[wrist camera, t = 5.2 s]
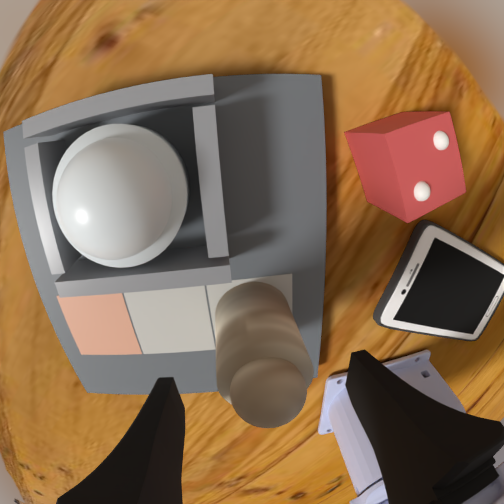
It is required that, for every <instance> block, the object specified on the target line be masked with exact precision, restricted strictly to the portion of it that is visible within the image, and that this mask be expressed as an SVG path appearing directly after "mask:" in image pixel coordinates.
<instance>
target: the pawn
mask: <svg viewBox="0 0 504 504" xmlns="http://www.w3.org/2000/svg"><path fill="white" fill-rule="evenodd" d="M215 337H216V380H217V388H218V391H219V393H220V395H221V396H222V397H223V398H224V399H225V400H226V401H228V402H229V403H231V404H232V405H233V408H234V409H235V411H236V413H237V414H238V415H239V416H240V417H241V418H242V419H243V420H244V421H246V422H247V423H249V424H251V425H253V426H257V427H261V428H275V427H279V426H282V425H284V424H287V423H288V422H290V421H291V420H293V419H294V418H295V417H296V416H297V415H298V414H299V412H300V411H301V410H302V408H303V406H304V403H305V400H306V394H307V388H308V387H309V385H310V384H311V382H312V379H313V375H314V368H313V364H312V362H311V359H310V357H309V354H308V352H307V349H306V347H305V344H304V342H303V339H302V337H301V334H300V332H299V329H298V327H297V324H296V322H295V319H294V317H293V314H292V312H291V309H290V307H289V304H288V302H287V300H286V298H285V296H284V295H283V293H282V292H281V291H280V290H278V289H277V288H275V287H274V286H272V285H270V284H266V283H262V282H247V283H243V284H240V285H237V286H235V287H233V288H231V289H230V290H228V291H227V292H226V293H225V294H224V295H223V296H222V297H221V299H220V300H219V302H218V304H217V306H216V311H215Z"/></svg>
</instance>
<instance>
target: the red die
mask: <svg viewBox="0 0 504 504" xmlns="http://www.w3.org/2000/svg"><path fill="white" fill-rule="evenodd" d="M344 133H345V136H346V138H347V141H348V144H349V147H350V149H351V152H352V155H353V158H354V161H355V164H356V167H357V170H358V173H359V176H360V179H361V182H362V186H363V189H364V192H365V196H366V199H367V202H369V203H371V204H373V205H375V206H377V207H379V208H380V209H382V210H384V211H386V212H388V213H390V214H392V215H394V216H395V217H397V218H399V219H401V220H403V221H405V222H406V223H409V222H411V221H413V220H415V219H417V218H419V217H421V216H423V215H425V214H426V213H428V212H430V211H432V210H434V209H436V208H438V207H440V206H442V205H443V204H445V203H447V202H449V201H451V200H453V199H455V198H456V197H458V196H460V195H462V194H464V193H465V192H466V187H465V181H464V174H463V169H462V163H461V158H460V153H459V148H458V143H457V139H456V135H455V131H454V127H453V123H452V119H451V115H450V112H437V111H428V112H401V113H398V114H395V115H392V116H389V117H386V118H383V119H380V120H377V121H374V122H371V123H369V124H366V125H363V126H360V127H357V128H355V129H352V130H349V131H346V132H344Z"/></svg>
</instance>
